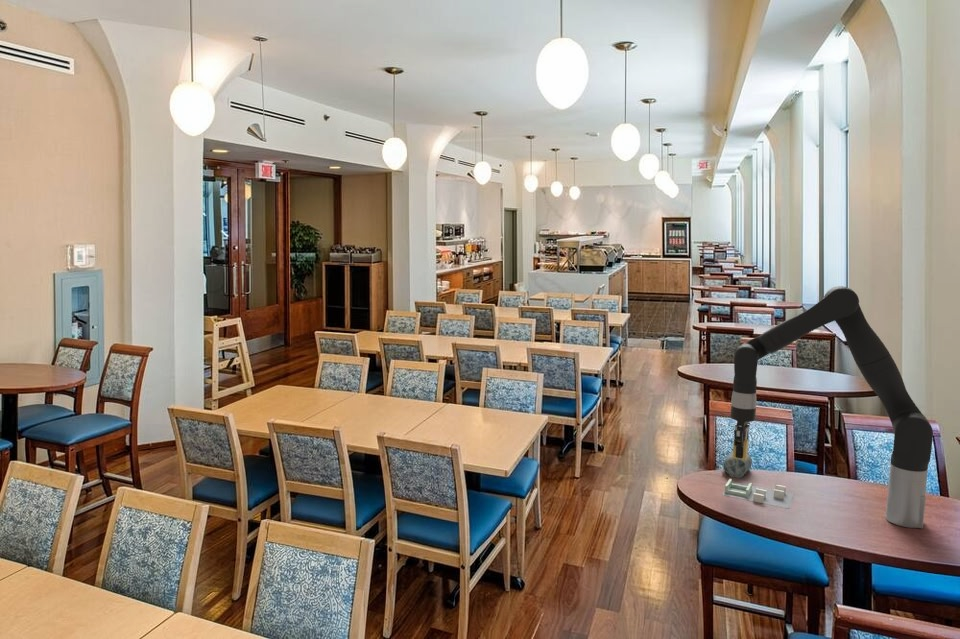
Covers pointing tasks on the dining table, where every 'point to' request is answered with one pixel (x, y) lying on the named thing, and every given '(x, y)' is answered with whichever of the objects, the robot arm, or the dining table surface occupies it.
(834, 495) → the dining table surface
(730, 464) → the spool
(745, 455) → the yellow drawer
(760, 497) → the white blocks
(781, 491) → the white blocks
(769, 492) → the board
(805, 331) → the robot arm
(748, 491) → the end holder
